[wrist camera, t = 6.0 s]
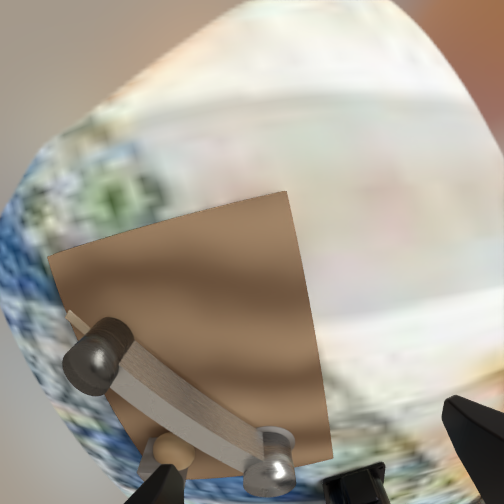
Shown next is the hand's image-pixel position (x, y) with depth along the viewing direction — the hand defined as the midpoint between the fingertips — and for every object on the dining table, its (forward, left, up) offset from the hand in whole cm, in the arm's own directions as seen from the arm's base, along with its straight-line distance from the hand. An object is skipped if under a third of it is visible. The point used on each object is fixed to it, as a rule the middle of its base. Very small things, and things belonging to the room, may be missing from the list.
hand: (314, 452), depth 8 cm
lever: (-5, +7, -10) cm, 14 cm away
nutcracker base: (-4, +6, -12) cm, 14 cm away
